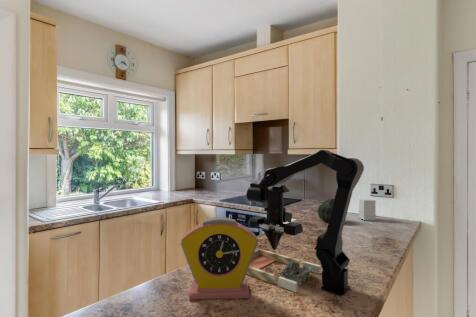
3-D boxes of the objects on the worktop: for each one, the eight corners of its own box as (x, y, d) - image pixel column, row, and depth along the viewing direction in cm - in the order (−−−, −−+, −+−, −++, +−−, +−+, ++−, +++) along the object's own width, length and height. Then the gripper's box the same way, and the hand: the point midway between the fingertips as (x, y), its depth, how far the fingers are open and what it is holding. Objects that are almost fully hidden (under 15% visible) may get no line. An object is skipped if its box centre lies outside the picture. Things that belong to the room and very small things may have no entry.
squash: (324, 208, 180) (319, 192, 171) (348, 212, 171) (344, 196, 163) (318, 226, 171) (312, 210, 163) (342, 231, 163) (338, 215, 154)
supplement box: (375, 221, 168) (376, 200, 168) (363, 221, 168) (363, 200, 168) (370, 218, 176) (370, 198, 175) (358, 218, 176) (358, 198, 176)
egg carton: (293, 270, 96) (293, 258, 96) (313, 276, 92) (313, 264, 92) (277, 280, 88) (277, 268, 88) (298, 288, 83) (298, 274, 83)
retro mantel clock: (179, 300, 76) (179, 222, 75) (183, 284, 85) (183, 215, 85) (258, 298, 77) (259, 221, 77) (255, 283, 86) (255, 214, 86)
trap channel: (299, 266, 99) (299, 259, 99) (272, 283, 86) (272, 275, 86) (258, 254, 111) (258, 248, 111) (229, 267, 98) (229, 260, 98)
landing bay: (321, 273, 94) (321, 265, 94) (295, 292, 80) (295, 283, 80) (304, 268, 98) (304, 261, 98) (277, 285, 84) (278, 277, 84)
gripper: (310, 204, 95) (310, 249, 95) (266, 198, 107) (265, 238, 108) (294, 209, 87) (294, 258, 87) (248, 202, 99) (247, 245, 99)
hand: (274, 249), depth 95 cm, fingers closed
